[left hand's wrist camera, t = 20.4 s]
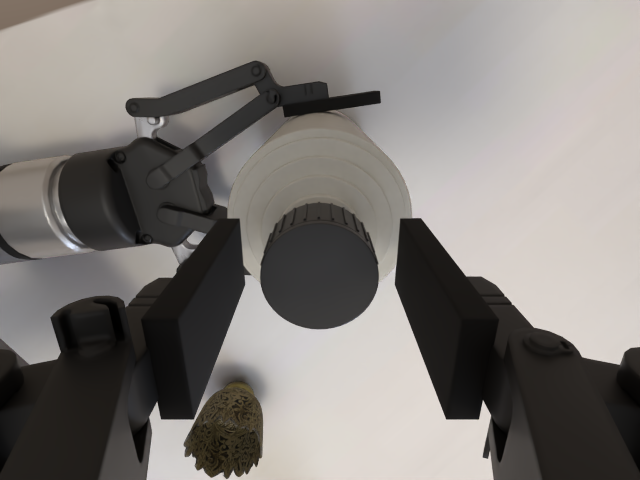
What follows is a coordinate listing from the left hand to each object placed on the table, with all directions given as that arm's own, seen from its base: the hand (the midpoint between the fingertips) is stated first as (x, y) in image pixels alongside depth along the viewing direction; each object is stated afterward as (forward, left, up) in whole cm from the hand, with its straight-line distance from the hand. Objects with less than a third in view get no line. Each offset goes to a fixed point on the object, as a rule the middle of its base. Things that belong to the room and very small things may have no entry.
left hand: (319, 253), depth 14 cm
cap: (0, 0, +2) cm, 2 cm away
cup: (+22, +18, -21) cm, 35 cm away
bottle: (0, 0, -21) cm, 21 cm away
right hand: (-4, +2, -15) cm, 16 cm away
